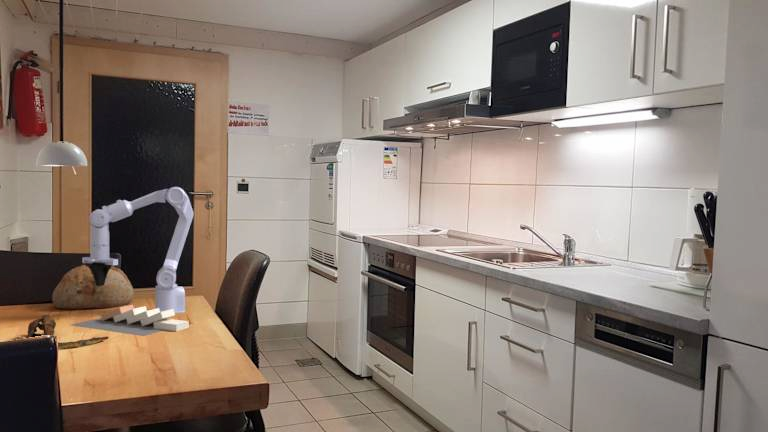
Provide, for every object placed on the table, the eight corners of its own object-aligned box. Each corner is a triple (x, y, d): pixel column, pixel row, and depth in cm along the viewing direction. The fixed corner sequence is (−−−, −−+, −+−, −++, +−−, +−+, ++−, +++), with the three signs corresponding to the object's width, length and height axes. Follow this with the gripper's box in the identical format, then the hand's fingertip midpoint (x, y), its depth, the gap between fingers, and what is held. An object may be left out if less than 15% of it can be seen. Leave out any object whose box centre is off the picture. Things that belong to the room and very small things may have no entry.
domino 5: (153, 321, 175) (176, 324, 171) (166, 318, 179) (188, 321, 176) (153, 328, 175) (176, 331, 171) (166, 324, 179) (188, 327, 176)
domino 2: (113, 316, 181) (132, 308, 178) (126, 313, 186) (145, 306, 183) (114, 322, 181) (134, 315, 178) (128, 319, 186) (147, 312, 182)
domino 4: (140, 320, 177) (160, 311, 173) (153, 317, 182) (173, 308, 178) (142, 326, 177) (162, 318, 173) (155, 323, 181) (175, 314, 178)
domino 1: (100, 314, 184) (119, 307, 180) (114, 312, 188) (132, 304, 185) (102, 320, 183) (121, 313, 180) (115, 317, 188) (134, 310, 185)
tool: (11, 337, 163) (7, 373, 137) (12, 316, 162) (8, 347, 137) (102, 331, 175) (114, 363, 149) (103, 311, 174) (115, 340, 149)
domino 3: (126, 318, 179) (146, 310, 176) (139, 315, 184) (159, 307, 181) (127, 324, 179) (147, 317, 176) (140, 321, 184) (160, 314, 180)
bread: (44, 313, 197) (43, 269, 196) (64, 300, 219) (64, 261, 219) (126, 310, 203) (126, 268, 202) (138, 298, 226) (138, 261, 225)
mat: (69, 326, 178) (69, 324, 178) (112, 316, 192) (112, 315, 192) (143, 337, 165) (143, 335, 165) (183, 326, 180) (183, 324, 180)
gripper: (74, 245, 190) (74, 285, 191) (105, 247, 185) (105, 288, 185) (92, 243, 197) (92, 282, 197) (123, 245, 191) (123, 285, 192)
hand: (100, 285), depth 192 cm, fingers closed
